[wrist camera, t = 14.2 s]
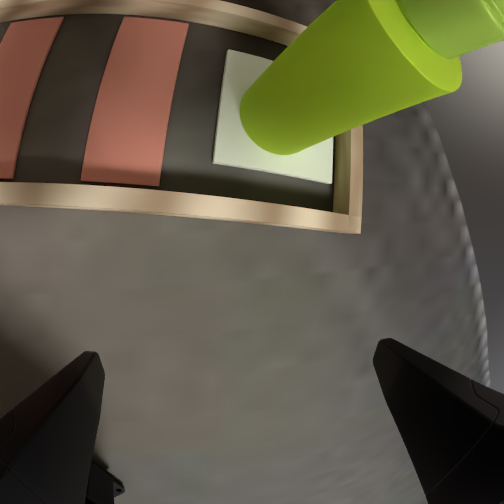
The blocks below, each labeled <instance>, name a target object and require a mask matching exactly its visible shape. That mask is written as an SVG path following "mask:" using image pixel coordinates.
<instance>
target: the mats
mask: <svg viewBox="0 0 504 504" xmlns="http://www.w3.org/2000/svg"><path fill="white" fill-rule="evenodd" d="M63 20H64V17H54V18H43V19H34V20H26V21H19V22H13V23H11V24H10V26H9V28H8V30H7V31H6V33H5V35H4V37H3V39H2V41H1V43H0V179H14V173H15V167H16V161H17V156H18V151H19V147H20V142H21V138H22V133H23V129H24V125H25V121H26V118H27V114H28V110H29V107H30V104H31V100H32V97H33V94H34V91H35V88H36V85H37V82H38V79H39V76H40V74H41V71H42V68H43V66H44V63H45V60H46V58H47V55H48V53H49V51H50V48H51V46H52V44H53V41H54V39H55V37H56V35H57V32H58V30H59V28H60V26H61V24H62V22H63ZM188 26H189V24H188V23H181V22H175V21H167V20H159V19H149V18H137V17H124V18H123V21H122V23H121V26H120V28H119V31H118V34H117V36H116V39H115V42H114V44H113V47H112V50H111V53H110V56H109V59H108V62H107V65H106V68H105V72H104V75H103V78H102V82H101V85H100V89H99V92H98V96H97V100H96V104H95V108H94V112H93V116H92V120H91V125H90V129H89V134H88V139H87V144H86V149H85V155H84V161H83V167H82V173H81V181H85V182H102V183H117V184H130V185H142V186H154V187H159V183H160V175H161V167H162V159H163V152H164V145H165V138H166V132H167V126H168V120H169V114H170V108H171V103H172V97H173V92H174V87H175V82H176V77H177V73H178V68H179V63H180V59H181V55H182V50H183V46H184V42H185V38H186V34H187V30H188Z"/></svg>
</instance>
